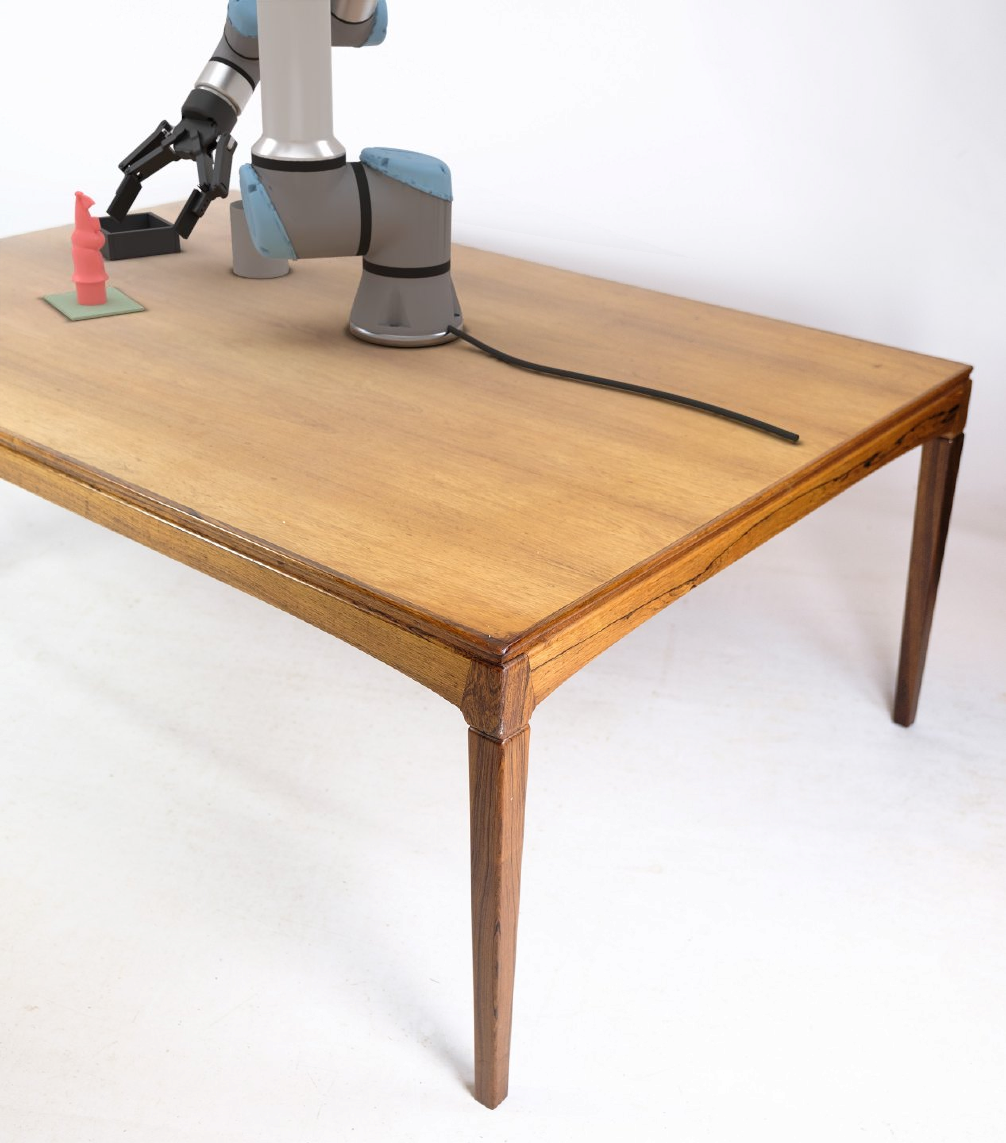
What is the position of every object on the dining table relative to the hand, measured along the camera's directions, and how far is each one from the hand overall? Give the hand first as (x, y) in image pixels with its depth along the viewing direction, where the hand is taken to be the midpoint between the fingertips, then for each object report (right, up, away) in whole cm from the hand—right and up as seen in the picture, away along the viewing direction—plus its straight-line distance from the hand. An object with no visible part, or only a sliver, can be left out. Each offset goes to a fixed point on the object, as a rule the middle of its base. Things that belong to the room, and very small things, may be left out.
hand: (145, 226), depth 183 cm
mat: (-6, -12, -3) cm, 14 cm away
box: (-9, +3, +24) cm, 26 cm away
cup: (+14, -3, +15) cm, 20 cm away
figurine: (-6, -12, -3) cm, 14 cm away
